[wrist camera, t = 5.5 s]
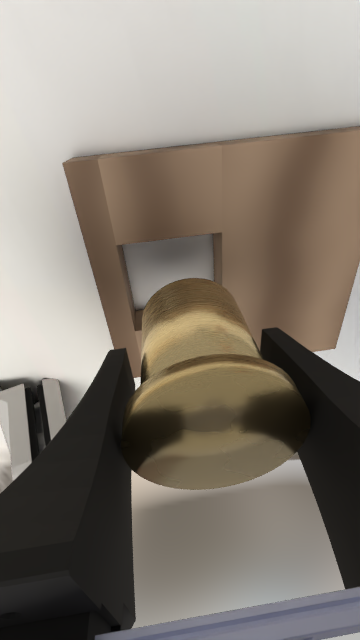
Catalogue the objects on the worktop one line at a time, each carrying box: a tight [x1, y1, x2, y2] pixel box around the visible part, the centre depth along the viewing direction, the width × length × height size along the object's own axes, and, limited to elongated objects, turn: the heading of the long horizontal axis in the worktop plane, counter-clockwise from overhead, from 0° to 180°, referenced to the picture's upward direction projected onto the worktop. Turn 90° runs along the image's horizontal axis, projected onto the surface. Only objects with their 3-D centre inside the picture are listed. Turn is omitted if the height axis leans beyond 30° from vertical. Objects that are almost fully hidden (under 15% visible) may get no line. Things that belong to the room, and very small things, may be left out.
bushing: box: [121, 278, 311, 490], centre depth 11 cm, size 5×5×6 cm
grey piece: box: [0, 379, 66, 481], centre depth 25 cm, size 17×5×10 cm, turn 173°
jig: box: [62, 126, 360, 378], centre depth 19 cm, size 16×14×2 cm
